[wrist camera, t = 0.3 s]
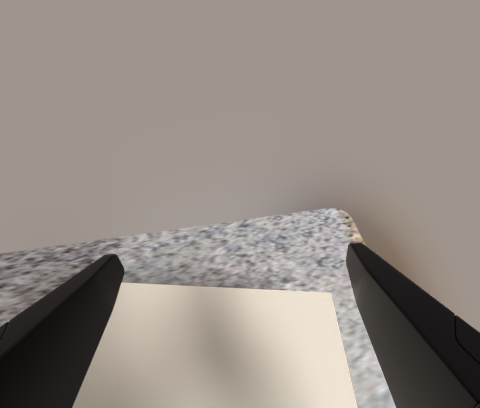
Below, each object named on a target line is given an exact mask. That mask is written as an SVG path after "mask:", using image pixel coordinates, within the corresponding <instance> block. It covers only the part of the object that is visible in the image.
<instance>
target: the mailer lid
mask: <svg viewBox="0 0 480 408" xmlns="http://www.w3.org/2000/svg"><path fill="white" fill-rule="evenodd" d="M72 408H357V404H356V399H355V395H354V391H353V386H352V382H351V378H350V373H349V369H348V365H347V360H346V356H345V352H344V347H343V343H342V339H341V334H340V330H339V326H338V321H337V317H336V313H335V308H334V304H333V300H332V295H331V293H325V292H304V291H284V290H264V289H243V288H223V287H202V286H182V285H162V284H141V283H121V286H120V289H119V292H118V296H117V299H116V302H115V305H114V308H113V311H112V314H111V316H110V319H109V321H108V323H107V326H106V328H105V330H104V333H103V335H102V338H101V340H100V342H99V345H98V347H97V350H96V352H95V354H94V357H93V359H92V362H91V364H90V366H89V369H88V371H87V374H86V376H85V378H84V381H83V383H82V386H81V388H80V390H79V393H78V395H77V398H76V400H75V402H74V405H73V407H72Z"/></svg>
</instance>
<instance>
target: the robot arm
mask: <svg viewBox="0 0 480 408" xmlns="http://www.w3.org/2000/svg"><path fill="white" fill-rule="evenodd" d="M346 264H347V269H348V273H349V277H350V280H351V284H352V288H353V292H354V296H355V300H356V303H357V306H358V309H359V312H360V314H361V317H362V320H363V322H364V325H365V327H366V330H367V333H368V335H369V338H370V340H371V343H372V346H373V348H374V351H375V353H376V356H377V359H378V361H379V364H380V366H381V369H382V371H383V374H384V377H385V379H386V382H387V384H388V387H389V390H390V392H391V395H392V397H393V400H394V403H395V405H396V408H480V332H478V331H477V330H476V329H474V328H473V327H472V326H470V325H469V324H467V323H466V322H465V321H464V320H462V319H461V318H460V317H458V316H455V314H454V313H453V312H452V311H450V310H449V309H448V308H446V307H445V306H444V305H443V304H441V303H440V302H439V301H437V300H436V299H435V298H433V297H432V296H430V295H429V294H428V293H427V292H425V291H424V290H423V289H421V288H420V287H419V286H418V285H416V284H415V283H414V282H412V281H411V280H410V279H408V278H407V277H406V276H404V275H403V274H402V273H401V272H399V271H398V270H397V269H395V268H394V267H393V266H391V265H390V264H389V263H387V262H386V261H385V260H383V259H382V258H381V257H380V256H378V255H377V254H375V253H374V252H373V251H372V250H370V249H369V248H368V247H366V246H365V245H364V244H362V243H350V244H349V245H348V251H347V257H346ZM123 276H124V267H123V265H122V263H121V261H120V260H119V258H118V256H117V255H116V254H107V255H104V256H103V257H101V258H100V259H98V260H97V261H95V262H94V263H92V264H91V265H89V266H88V267H87V268H85V269H84V270H82V271H81V272H79V273H78V274H76V275H75V276H74V277H72V278H71V279H69V280H68V281H66V282H65V283H63V284H62V285H60V286H59V287H58V288H56V289H55V290H53V291H52V292H50V293H49V294H47V295H46V296H45V297H43V298H42V299H40V300H39V301H37V302H36V303H34V304H33V305H32V306H30V307H29V308H27V309H26V310H24V311H23V312H21V313H20V314H18V315H17V316H16V317H14V318H13V319H11V320H10V321H9V322H7V323H5V324H4V325H2V326H1V327H0V408H72V407H73V405H74V402H75V400H76V398H77V395H78V393H79V390H80V388H81V386H82V383H83V381H84V378H85V376H86V374H87V371H88V369H89V366H90V364H91V362H92V359H93V357H94V354H95V352H96V350H97V347H98V345H99V342H100V340H101V338H102V335H103V333H104V330H105V328H106V326H107V323H108V321H109V319H110V316H111V314H112V311H113V308H114V305H115V302H116V299H117V296H118V292H119V289H120V286H121V283H122V279H123Z"/></svg>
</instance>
